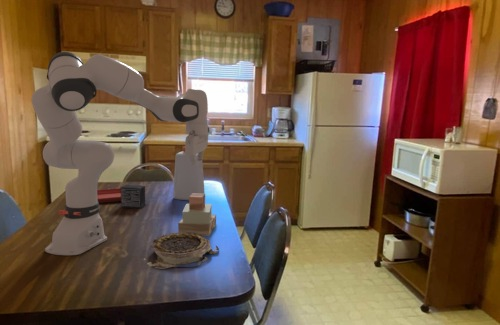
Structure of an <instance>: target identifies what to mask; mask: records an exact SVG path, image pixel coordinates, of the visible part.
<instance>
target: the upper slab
mask: <svg viewBox="0 0 500 325" xmlns="http://www.w3.org/2000/svg"><path fill="white" fill-rule="evenodd" d="M181 215H182V218H183V223H186V224H209V223H210V219H211V215H212V203H205V207H204V208H203V210H192V209H189V203H186V204H185V206H184V207H183V210H182V214H181Z"/></svg>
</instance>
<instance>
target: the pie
mask: <svg viewBox="0 0 500 325" xmlns="http://www.w3.org/2000/svg"><path fill="white" fill-rule="evenodd" d="M150 247H151V249H152V250H153V251H154V253H155V254H156V255H155V256H156V258H157V259H154V261H155V262H154V263H152V261H150V262H147V265H149V267H154V269H155V268H156V269H159V270H160V269H168V268H169V269H170V268H176V265H185V264H190V263H195V262H196V263H197V262H198V266H200V265H201V264H202V263H204V262H206V261H208V257H207V256H203V255H205V254H209V255H212V254H214V255H215V254H216V253H217V254H218V252H219V251H220V250H219V249H220V248H219V246H217V245H215V248H214V249H213V248H212V247H211V242H210V240H209V239H208V238H206V237H205V236H203V235H198V234H197V233H195V232H186V233H180V232H178V231H177V232H170V233H165V234H162V235H160V236H158V237H156V238H155V239H153V240H152V242H150ZM143 258H144V257H143ZM143 258H142V260H144V261H146V260H147V259H146V258H144V259H143ZM159 266H161V267H159Z"/></svg>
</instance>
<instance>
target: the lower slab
mask: <svg viewBox="0 0 500 325" xmlns="http://www.w3.org/2000/svg"><path fill="white" fill-rule="evenodd" d="M216 226H217V214H211V219H210V223H209V224H186V223H183V217H182V219H181V220H180V221H179V222H177V229H178V231H177V233H178V232H180V233H186V232H195V233H197V234H198V235H201V236H202V235H203V236H202V237H205V236H206V237H210V235H211V233H212V232H213V230H214V229H215V227H216Z"/></svg>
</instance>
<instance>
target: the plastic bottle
mask: <svg viewBox="0 0 500 325" xmlns="http://www.w3.org/2000/svg"><path fill="white" fill-rule="evenodd" d="M182 149H183V150H182V151H180V152H177V153H176V154H175V159H174V160H175V161H174V175H173V176H174V177H173V178H174V179H173V188H172V189H173V192H172V194H173V195H172V197H173V198H174V199H175V200H178V201H179V200H181V201H188V202H189V196H190V195H191V194H192V193H201V194H205V195H206V193H205V179H204V166H203V160H202V161H198V154H196V157H195V161H196V165H194V166H193V165H191V161H190V158H189V156H188V155H186V154H185V146H184V147H183V148H182Z"/></svg>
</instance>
